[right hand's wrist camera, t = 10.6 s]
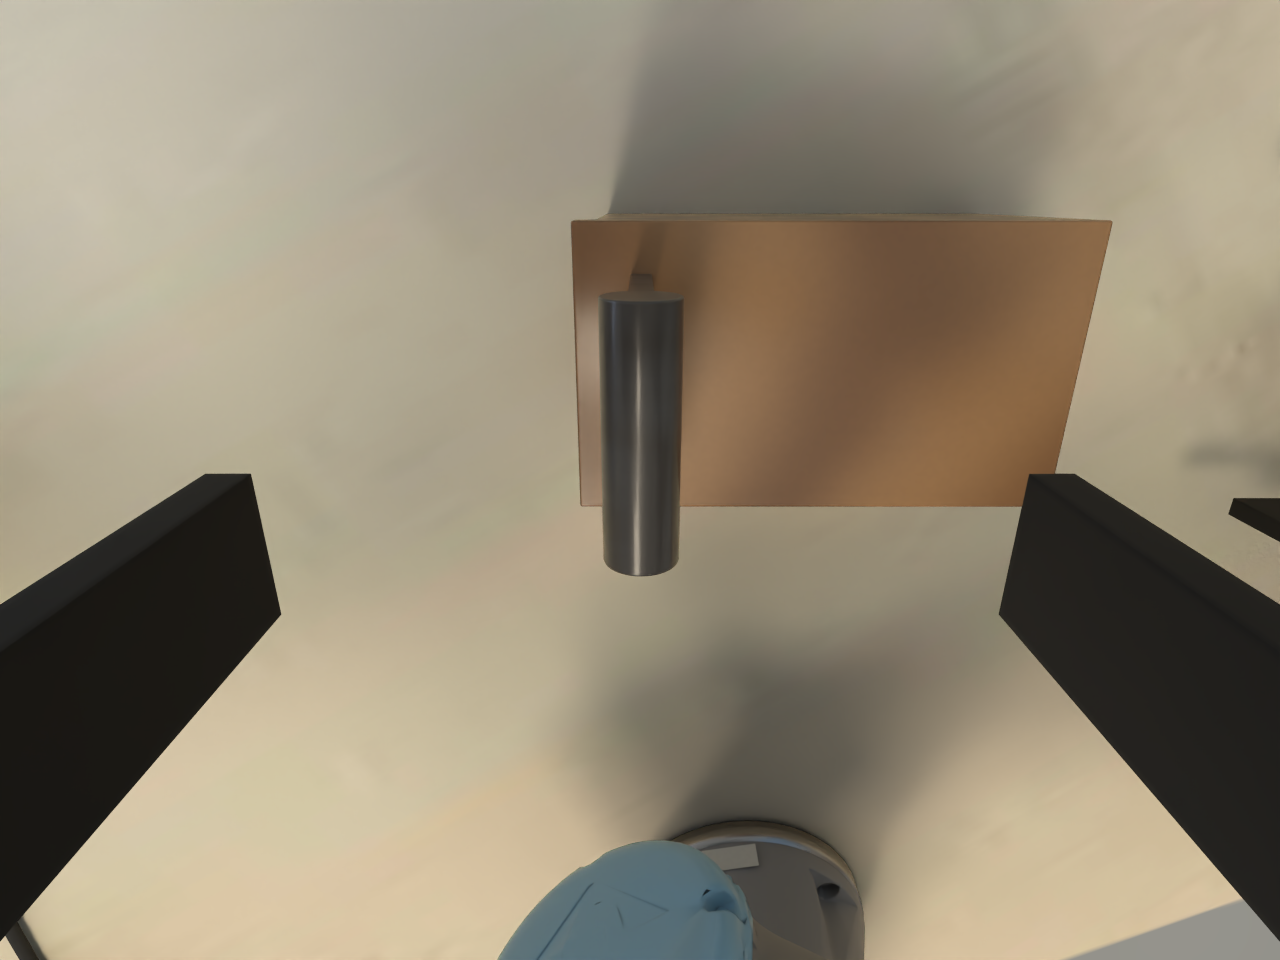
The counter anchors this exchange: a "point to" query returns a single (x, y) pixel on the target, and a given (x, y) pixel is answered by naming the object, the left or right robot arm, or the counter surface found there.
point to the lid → (820, 364)
